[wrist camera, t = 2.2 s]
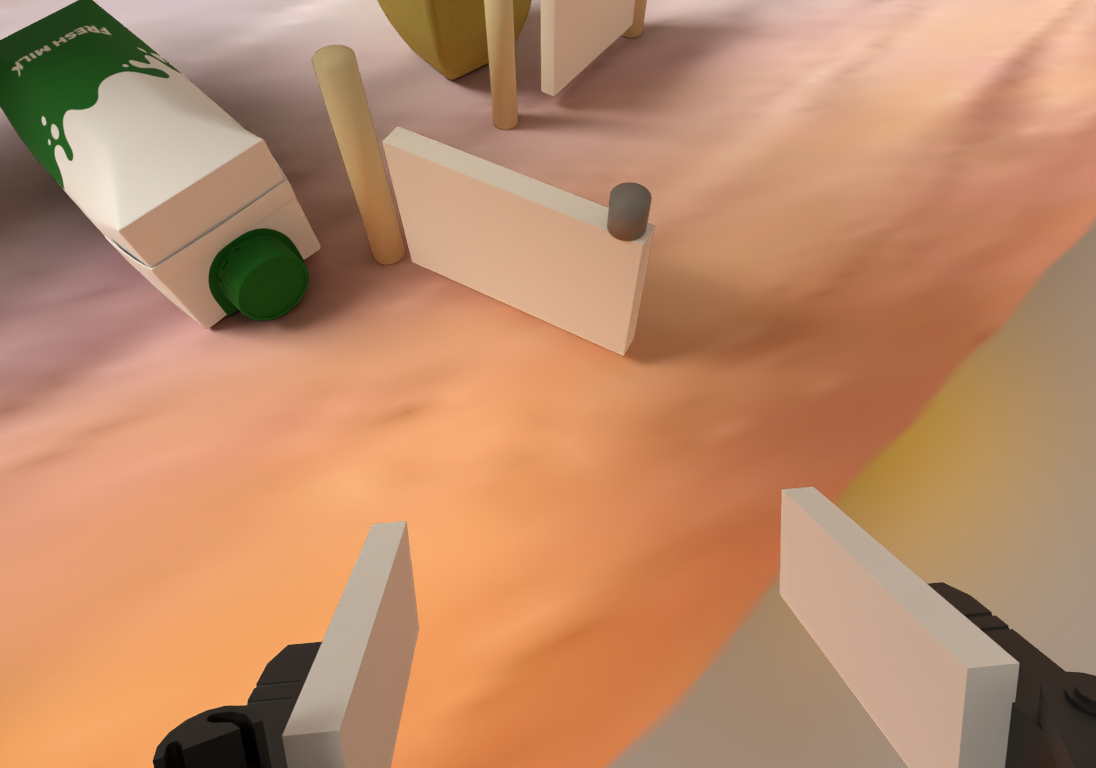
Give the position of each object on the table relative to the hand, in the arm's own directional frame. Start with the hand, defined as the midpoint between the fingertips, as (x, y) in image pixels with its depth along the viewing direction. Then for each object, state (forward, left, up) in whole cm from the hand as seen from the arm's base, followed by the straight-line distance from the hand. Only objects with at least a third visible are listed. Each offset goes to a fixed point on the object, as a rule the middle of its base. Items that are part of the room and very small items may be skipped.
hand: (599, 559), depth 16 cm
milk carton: (-37, +22, -9) cm, 44 cm away
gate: (-8, +16, -13) cm, 22 cm away
